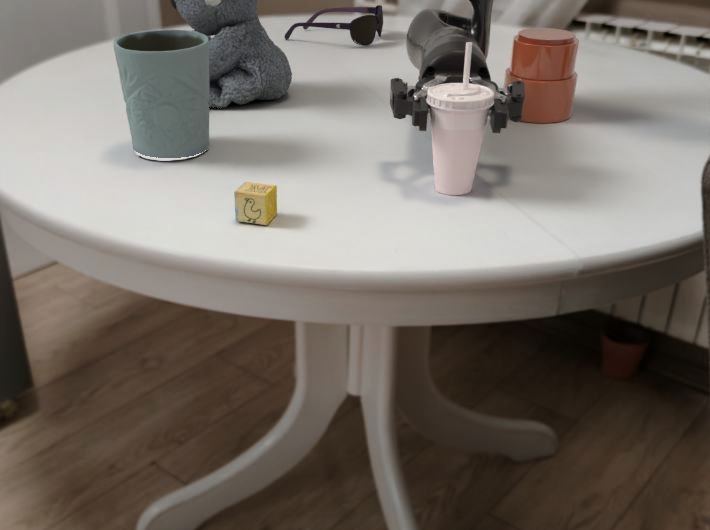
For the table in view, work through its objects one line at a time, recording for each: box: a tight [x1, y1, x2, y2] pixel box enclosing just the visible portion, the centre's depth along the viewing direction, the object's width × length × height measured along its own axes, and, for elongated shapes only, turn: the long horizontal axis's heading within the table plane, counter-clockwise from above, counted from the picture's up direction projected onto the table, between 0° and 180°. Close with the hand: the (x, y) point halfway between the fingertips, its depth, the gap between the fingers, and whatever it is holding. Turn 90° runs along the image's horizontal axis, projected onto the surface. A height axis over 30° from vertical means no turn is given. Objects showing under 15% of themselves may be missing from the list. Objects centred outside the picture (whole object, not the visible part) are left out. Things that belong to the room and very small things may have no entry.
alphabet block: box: [233, 181, 278, 226], centre depth 74 cm, size 3×3×3 cm
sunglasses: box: [284, 4, 384, 47], centre depth 138 cm, size 14×16×5 cm
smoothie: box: [426, 42, 494, 196], centre depth 77 cm, size 6×6×14 cm
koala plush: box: [169, 0, 293, 109], centre depth 105 cm, size 17×18×20 cm
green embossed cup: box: [112, 28, 210, 158], centre depth 88 cm, size 10×10×12 cm
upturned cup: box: [502, 27, 580, 124], centre depth 100 cm, size 9×9×10 cm
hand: (460, 121), depth 75 cm, fingers closed on smoothie, 6 cm apart
